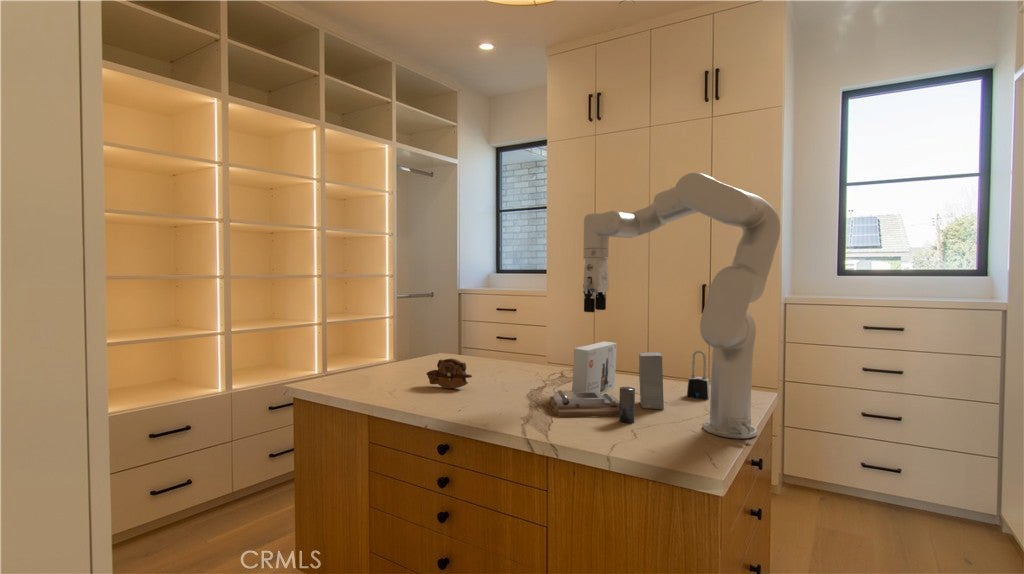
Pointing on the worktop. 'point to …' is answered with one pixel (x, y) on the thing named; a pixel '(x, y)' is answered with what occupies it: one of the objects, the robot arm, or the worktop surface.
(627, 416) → the pin
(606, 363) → the skincare box
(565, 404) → the grey tray
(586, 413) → the walnut board
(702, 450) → the worktop surface
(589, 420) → the worktop surface
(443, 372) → the wooden carving
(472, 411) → the worktop surface
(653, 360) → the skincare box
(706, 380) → the padlock
